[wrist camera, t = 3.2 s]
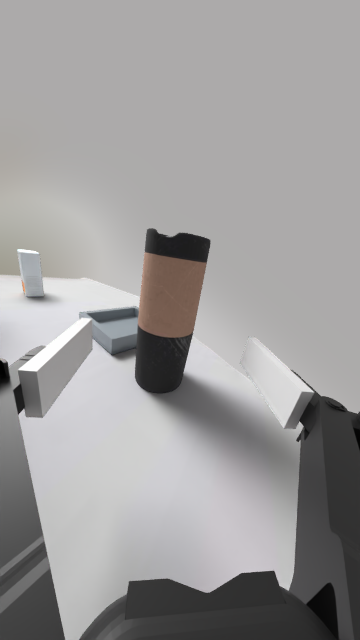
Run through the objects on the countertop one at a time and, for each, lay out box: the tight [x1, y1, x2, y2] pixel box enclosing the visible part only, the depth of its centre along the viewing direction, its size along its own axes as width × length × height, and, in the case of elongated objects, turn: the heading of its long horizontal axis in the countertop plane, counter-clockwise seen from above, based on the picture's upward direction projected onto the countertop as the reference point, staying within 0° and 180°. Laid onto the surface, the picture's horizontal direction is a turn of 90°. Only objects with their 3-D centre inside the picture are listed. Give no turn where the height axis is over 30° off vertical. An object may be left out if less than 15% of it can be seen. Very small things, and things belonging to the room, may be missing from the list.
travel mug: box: [135, 228, 210, 393], centre depth 24 cm, size 8×8×20 cm
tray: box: [79, 306, 139, 355], centre depth 40 cm, size 14×14×3 cm
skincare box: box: [17, 249, 44, 297], centre depth 51 cm, size 6×4×12 cm
